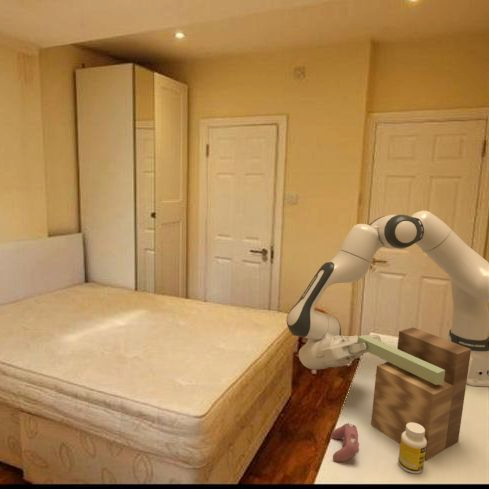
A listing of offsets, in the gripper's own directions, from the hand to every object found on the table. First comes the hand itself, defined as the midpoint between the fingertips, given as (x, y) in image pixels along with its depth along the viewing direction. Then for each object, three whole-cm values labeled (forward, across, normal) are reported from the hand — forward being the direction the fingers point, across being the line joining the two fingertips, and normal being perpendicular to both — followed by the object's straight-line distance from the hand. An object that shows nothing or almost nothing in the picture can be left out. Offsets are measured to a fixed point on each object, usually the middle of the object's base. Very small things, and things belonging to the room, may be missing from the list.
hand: (371, 344), depth 110 cm
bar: (+6, 0, +6) cm, 8 cm away
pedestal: (+1, +3, +24) cm, 24 cm away
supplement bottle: (+8, -8, +28) cm, 30 cm away
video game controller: (-3, -18, +22) cm, 29 cm away
